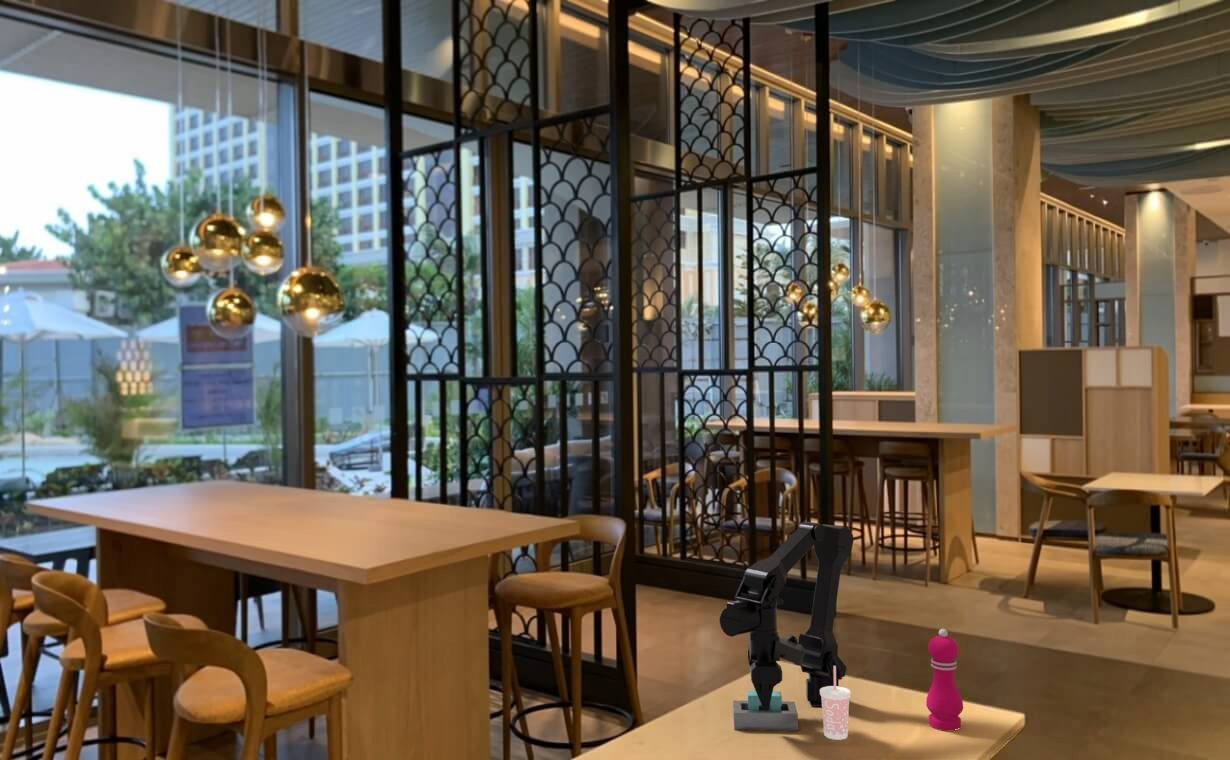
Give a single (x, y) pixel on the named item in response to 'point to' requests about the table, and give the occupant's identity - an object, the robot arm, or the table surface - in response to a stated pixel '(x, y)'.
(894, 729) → the table surface
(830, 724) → the beverage cup
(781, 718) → the grey slotted tray
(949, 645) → the pepper mill
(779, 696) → the light blue rectangular block
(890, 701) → the table surface
